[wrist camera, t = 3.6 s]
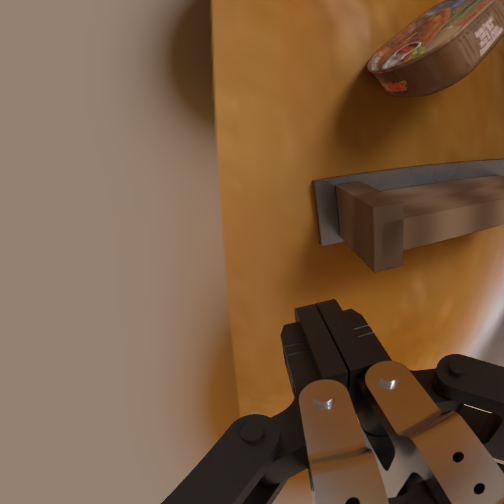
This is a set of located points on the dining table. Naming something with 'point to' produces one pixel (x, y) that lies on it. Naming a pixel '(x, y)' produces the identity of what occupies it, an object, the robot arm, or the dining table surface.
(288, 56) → the dining table surface
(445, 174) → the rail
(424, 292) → the dining table surface
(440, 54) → the tin
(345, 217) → the brown wooden block
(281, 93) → the dining table surface
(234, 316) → the dining table surface
